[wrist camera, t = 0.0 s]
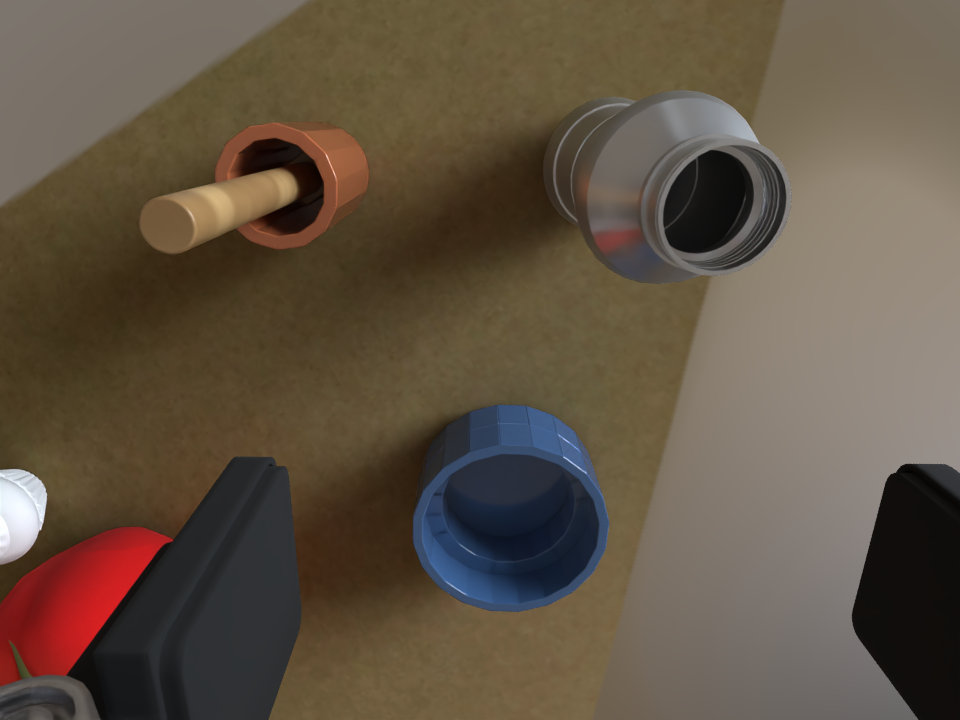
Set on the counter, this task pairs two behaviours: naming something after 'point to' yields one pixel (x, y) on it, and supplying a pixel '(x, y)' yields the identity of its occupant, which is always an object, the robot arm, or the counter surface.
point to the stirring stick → (226, 205)
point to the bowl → (508, 510)
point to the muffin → (19, 512)
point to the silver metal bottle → (667, 185)
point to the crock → (278, 147)
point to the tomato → (70, 601)
